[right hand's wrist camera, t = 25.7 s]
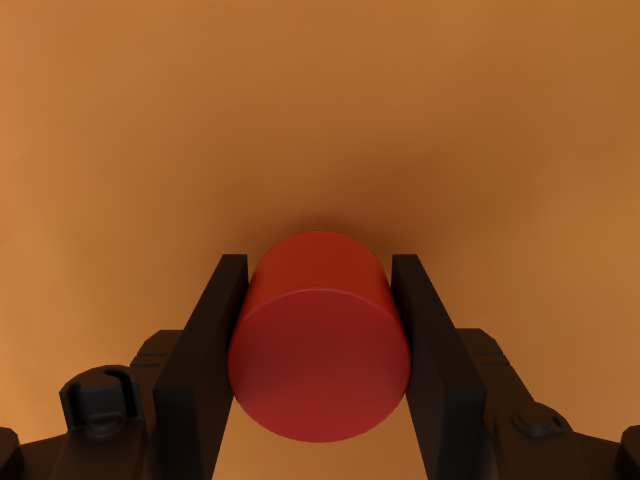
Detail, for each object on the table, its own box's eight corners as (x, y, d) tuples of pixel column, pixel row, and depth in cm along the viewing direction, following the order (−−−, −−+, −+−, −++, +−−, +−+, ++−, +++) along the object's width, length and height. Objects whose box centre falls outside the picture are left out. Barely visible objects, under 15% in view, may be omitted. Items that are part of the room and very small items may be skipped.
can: (276, 368, 16) (262, 461, 12) (228, 253, 15) (196, 317, 11) (403, 334, 16) (430, 420, 12) (367, 211, 14) (385, 263, 10)
